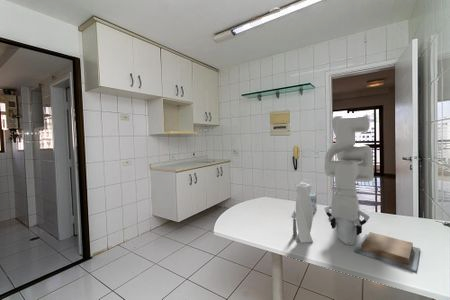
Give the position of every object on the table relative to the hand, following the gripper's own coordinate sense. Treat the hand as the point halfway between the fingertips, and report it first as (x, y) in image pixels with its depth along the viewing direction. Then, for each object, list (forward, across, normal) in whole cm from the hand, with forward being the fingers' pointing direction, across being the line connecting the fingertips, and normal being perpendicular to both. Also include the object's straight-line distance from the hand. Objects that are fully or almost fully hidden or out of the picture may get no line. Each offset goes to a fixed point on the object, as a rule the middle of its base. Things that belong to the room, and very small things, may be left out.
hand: (345, 230), depth 89 cm
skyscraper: (+6, -14, -9) cm, 18 cm away
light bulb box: (+4, -29, +26) cm, 39 cm away
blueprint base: (+5, +14, +3) cm, 15 cm away
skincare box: (+5, 0, +1) cm, 5 cm away
